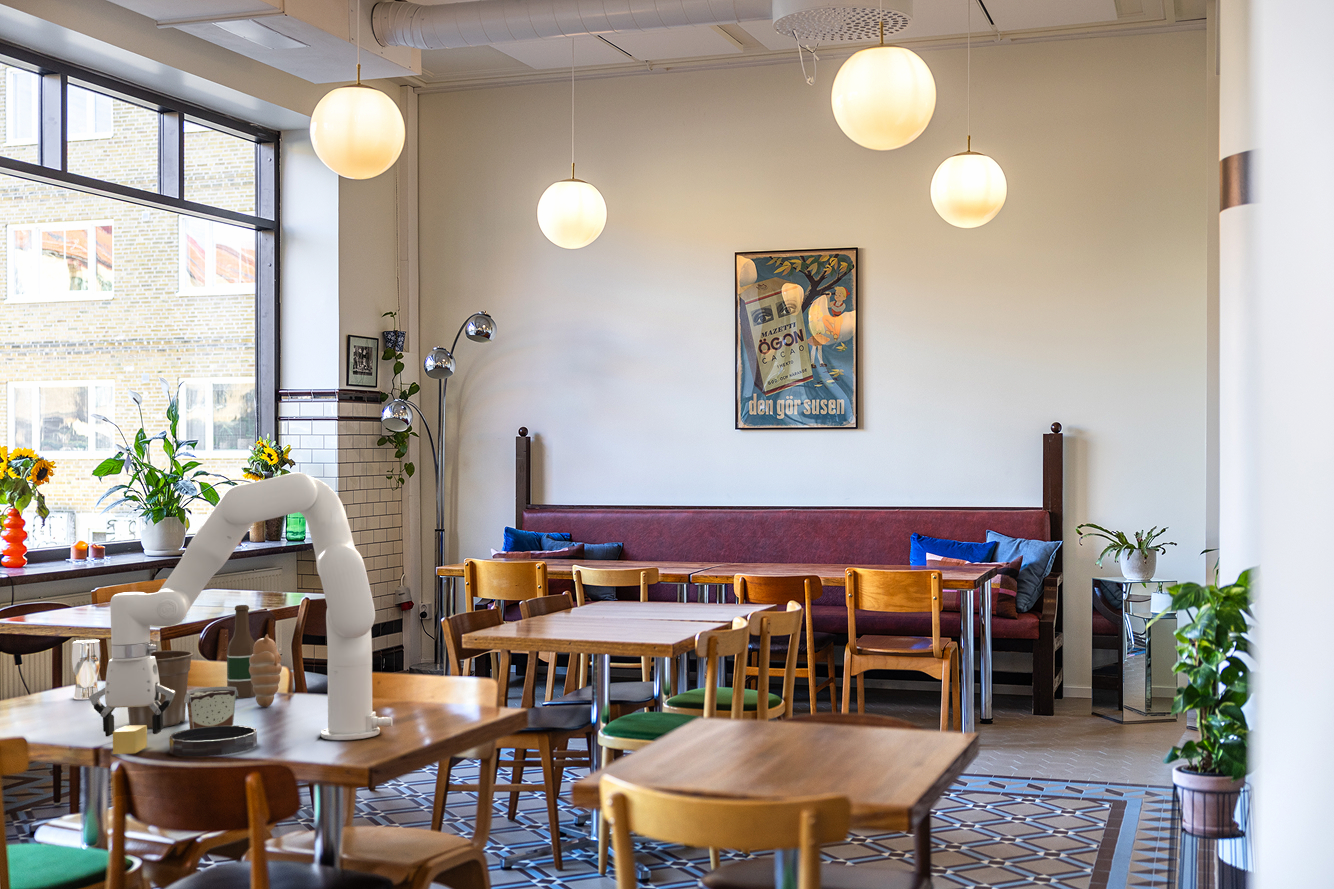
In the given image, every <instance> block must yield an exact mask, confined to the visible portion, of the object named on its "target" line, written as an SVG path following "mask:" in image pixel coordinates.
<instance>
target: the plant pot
mask: <svg viewBox="0 0 1334 889" xmlns="http://www.w3.org/2000/svg"><path fill="white" fill-rule="evenodd" d="M151 656H155V659H156V663H157V667H158V673H159V681H160V685H162V686H164V687H166V688H169V689H171V690H173V691H175V696H174V698H173V700H172V702H171V704H170V705H169V707H168V708H167V709H166V710H165V711H164V712H163V728H167V727H171V726H176V725H179V724H180V723H184V722H185V721H186V708H187V703H184V699H185V695H186V693H187V691H188V683H189V672H190V670H191V663H192V657H193V656H194V651H188V650H157V651H156V652H152V654H151ZM165 698H166V696H165V695H164V694H161V697H160V700H159V702H160V703H161V704H162V703H163V702H164V701H165ZM127 715H128V724H129V725H147V729H153V727H152V716H153V715H154V712H153V711H152V710H151V708H150V707H149V706H141V707H127Z"/></svg>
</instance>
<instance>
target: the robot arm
mask: <svg viewBox="0 0 1334 889" xmlns="http://www.w3.org/2000/svg"><path fill="white" fill-rule="evenodd" d="M296 513H300V515H301V516H302V517H303V518H304V520H305V521H306V523H307V527H308V531H309V534H310V539H311V541H312V546H313V550H314V556H315V561H316V571H317V574H318V576H319V579H320V582H321V587H322V590H323V595H324V599H325V602H326V607H327V608H326V612H325V625H326V641H327V642H326V643H327V644H326V645H327V646H326V647H327V728H324V729H322V730H321V731H320V737H321V738H322V739H324V740H330V741H353V740H355V741H356V740H362V739H363V740H364V739H368V738H369V739H370V738H373V737H376V736H378V735H380V733H381V729H380V728H381V727H383V728H384V727H393V720H394V719H393V717H389V716H382V717H379V716H376V715H377V712H376V711H373V641H372V640H373V639H372V638H373V637H372V627H373V626H374V623H375V620H376V608H375V604H374V599H373V595H372V591H371V586H370V582H369V578H368V574H367V569H366V565H365V562H364V559H363V557H362V555H361V553H360V552H359V551H358V550H357V549H356V546H355V542H354V539H353V534H352V531H351V530H352V529H351V528H350V523H349V520H348V516H347V512H346V509H345V507H344V505H343V502H342V500H341V498H340V497H339V495H338V494H337V493H336V492H335V490H333V489H332V488H331V487H330V486H329V485H328V484H327V483H325V482H324V481H322V480H320V479H319V478H315V477H314V476H310V475H308V474H306V473H304V472H299V471H298V472H297V471H295V472H290V473H285V474H281V475H279V476H274V477H270V478H265V479H262V480H256V481H252V482H246V483H241V484H236V485H233V486H231V487H230V488H228V489H227V490H226V491H225V492H224V493H223V495H222V497H220V499H219V501H218V502H217V504H216V505H215V506H214V508H213V509H212V511H210V513H209V515H208V516H207V518H206V519H205V520H204V521H203V523H202V525H201V526H200V528H199V529H198V530H197V532H195V534H194V536H193V537H192V538H191V540H190V541H189V543H188V544H187V547H186V549H185V551H184V554H182V555H183V556H182V557H181V558H180V559H179V562H178V563H177V565H176V566H175V567H174V569H173V571H171V573H170V574H169V576H168V577H167V578H166V580H165V581H164V582H163V584H162V585H161V587H160V589H159V590H158V591H155V592H150V593H146V592H143V591H127V592H119V593H116V594H114V595H113V596H111V599H110V603H109V604H110V605H109V608H110V610H109V611H110V638H111V639H110V643H111V658H110V659H108V662H107V667H106V674H105V686H104V688H101V689H100V690H98V692H96V693H94V694H93V695H91V696H90V697H89V699H88V700H89V701H90V703H91V704H92V706H93V709H94V710H95V711H96V712H97V713H98V714H99V715H100V717H101V718H102V731H103V733H104V736H105V737H110V736H113V732H114V731H115V715H114V714H113V712H114V711H115V709H116V708H117V709H118V708H128V707H141V706H149V707H150V708H151V710H152V711H153V712H154V715H153V716H152V727H153V728H152V734H153V735H158V734H160V733H161V732H162V729H164V727H163V712H164V711H165V710H166V709H167V708H168V707H169V705H170V704H171V702H172V700H173V698H174V696H175V691H173V690H171V689H169V688H166V687H164V686H162V685H160V681H159V673H158V667H157V663H156V659H155V656H151V654H152V652H156V651H158V644H153V643H152V641H151V626H157V627H172V626H175V625H178V624H179V623H182V621H183V620H184V619H185V617H186V615H187V613H188V612H189V610H190V608H191V607H192V605H193V604H194V603H195V601H196V600H197V599H198V597H199V596H200V594H201V593H202V592H203V590H204V589H205V587H206V586H207V585H208V583H209V582H210V581H211V579H212V578H213V577H214V576H215V574H217V572H219V571H220V570H221V569H222V568H223V567H224V565H225V564H226V563H227V561H228V560H229V558H230V557H231V555H232V554H233V553H234V551H235V550H236V548H237V547H238V546H239V544H240V543H241V541H242V540H243V539H244V537H245V536H246V534H247V533H248V532H249V530H250V528H252V526H253V525H254V523H258V522H263V521H268V520H272V519H276V518H281V517H284V516H288V515H293V514H296ZM161 694H164V695H165V696H166V698H165V701H164V702H163V703H162V704H161V703H160V702H159V700H160V697H161ZM103 696H104V702H105V705H106V706H105V705H104V704H103V703H102V702H101V701H100V699H101V697H103Z"/></svg>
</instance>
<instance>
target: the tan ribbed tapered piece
mask: <svg viewBox="0 0 1334 889" xmlns="http://www.w3.org/2000/svg"><path fill="white" fill-rule="evenodd" d="M281 662H282V656H281V654H280V652H279V651H278V647H277V643H276V642H275V641H274V640H273V639H272V638H270V637H269V634H268V633H267V634H265V636H264V637H262V638H259V639H257V640H256V641H255V644H254V647H253V654H252V655H251V656H250V659H249V663H250V667H249V673H250V675H251V683H252V685H253V692H254V693H255V694H256V696H255V701H256V703H257V705H258V706H259V707H261V708H268V707H270V706H271V705H272V704H273V702H274V701H275V695H276V694H277V692H278V691H279V684H280V681H281V675H280V674H281V672H282V668H283V666H282V664H281Z"/></svg>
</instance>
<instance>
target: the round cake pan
mask: <svg viewBox="0 0 1334 889" xmlns="http://www.w3.org/2000/svg"><path fill="white" fill-rule="evenodd" d="M168 736H169V737H168V752H169V754H171V755H174V756H179V757H213V756H223V755H231V754H237V753H241V752H245V751H249V750H253V749H254V748H256V746H258V730H257V728H255V727H252V726H248V725H234V724H233V725H231V726H210V727H201V728H193V729H190V728H188V729H184V730H180V731H176V732H173V733H171V734H169V735H168Z"/></svg>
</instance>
